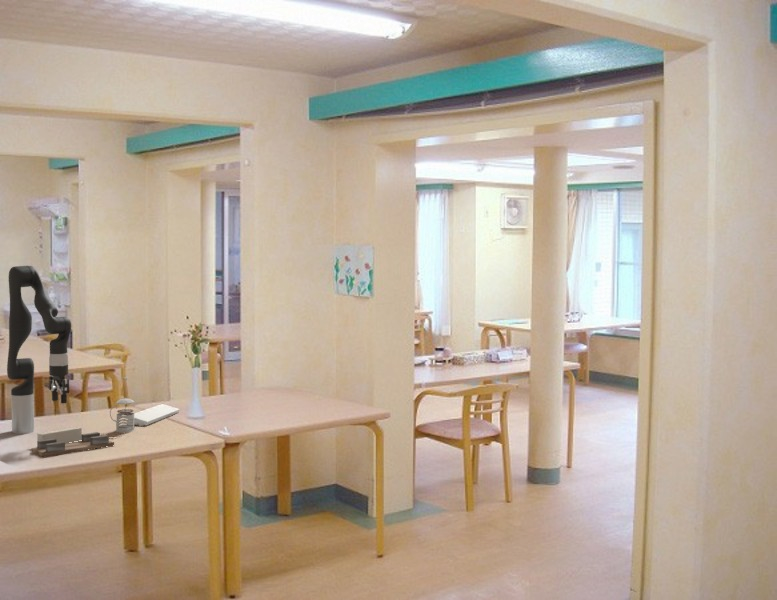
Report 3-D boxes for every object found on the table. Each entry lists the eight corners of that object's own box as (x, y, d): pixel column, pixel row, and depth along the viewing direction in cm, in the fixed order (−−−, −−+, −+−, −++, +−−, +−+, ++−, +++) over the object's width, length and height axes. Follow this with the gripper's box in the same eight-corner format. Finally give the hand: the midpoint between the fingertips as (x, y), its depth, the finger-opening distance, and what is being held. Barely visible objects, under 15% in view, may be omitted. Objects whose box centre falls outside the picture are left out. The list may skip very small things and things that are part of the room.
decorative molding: (177, 418, 448) (160, 412, 450) (179, 409, 448) (162, 403, 450) (145, 431, 415) (126, 425, 417) (147, 421, 414) (128, 415, 416)
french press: (136, 433, 401) (136, 378, 400) (109, 434, 398) (109, 379, 397) (136, 429, 411) (136, 375, 409) (110, 430, 408) (109, 376, 406)
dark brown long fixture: (31, 452, 363) (31, 441, 363) (100, 441, 384) (100, 431, 384) (44, 457, 355) (44, 446, 354) (114, 445, 376) (114, 435, 375)
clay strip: (37, 447, 373) (37, 433, 373) (76, 440, 387) (76, 426, 386) (42, 448, 370) (42, 434, 370) (81, 441, 384) (81, 428, 384)
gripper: (42, 363, 379) (43, 400, 380) (57, 366, 369) (58, 405, 370) (60, 361, 384) (60, 398, 385) (74, 364, 374) (75, 403, 375)
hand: (59, 401), depth 378 cm, fingers open, 8 cm apart
